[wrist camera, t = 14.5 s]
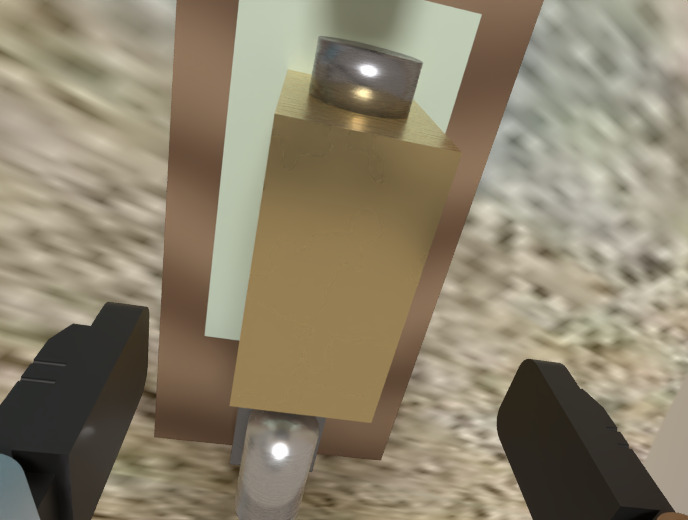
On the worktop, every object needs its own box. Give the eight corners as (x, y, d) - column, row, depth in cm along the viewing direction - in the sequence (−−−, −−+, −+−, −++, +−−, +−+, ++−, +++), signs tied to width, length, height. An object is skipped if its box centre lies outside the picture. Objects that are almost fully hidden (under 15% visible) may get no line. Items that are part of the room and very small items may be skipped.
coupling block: (295, 22, 17) (285, 42, 11) (423, 53, 17) (483, 88, 11) (248, 315, 22) (224, 440, 16) (347, 329, 23) (360, 455, 17)
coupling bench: (207, -351, 14) (133, -588, 8) (601, -220, 16) (769, -340, 10) (162, 415, 27) (121, 529, 21) (377, 438, 29) (393, 550, 23)
